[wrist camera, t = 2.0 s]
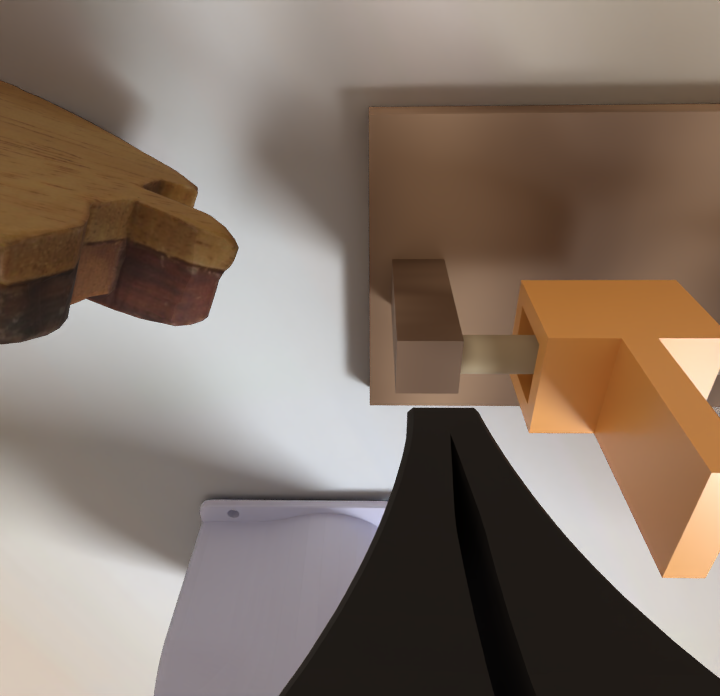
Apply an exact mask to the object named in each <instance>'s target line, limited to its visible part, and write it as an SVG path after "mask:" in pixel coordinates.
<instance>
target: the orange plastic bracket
mask: <svg viewBox="0 0 720 696" xmlns="http://www.w3.org/2000/svg"><path fill="white" fill-rule="evenodd" d="M512 335H535V336H536V338H537V341H538V343H539V349H538V354H537V359H536V364H535V369H534V374H510V377H511V380H512V383H513V386H514V389H515V392H516V395H517V398H518V401H519V404H520V407H521V410H522V413H523V416H524V419H525V422H526V425H527V428H528V431H529V433H594V434H595V436H596V438H597V441H598V443H599V445H600V447H601V449H602V451H603V453H604V455H605V457H606V460H607V462H608V464H609V466H610V468H611V470H612V472H613V474H614V477H615V479H616V481H617V483H618V485H619V487H620V489H621V491H622V493H623V496H624V498H625V500H626V502H627V504H628V506H629V508H630V510H631V513H632V515H633V517H634V519H635V521H636V523H637V525H638V527H639V529H640V532H641V534H642V536H643V538H644V540H645V542H646V544H647V546H648V549H649V551H650V553H651V555H652V557H653V559H654V561H655V563H656V565H657V568H658V570H659V572H660V574H661V576H662V578H706V576H707V574H708V572H709V570H710V568H711V567H712V565H713V563H714V561H715V559H716V557H717V556H718V554H719V552H720V418H719V416H718V415H717V414H716V412H715V411H714V410H713V409H712V407H711V406H710V405H709V403H708V402H707V401H706V400H707V398H708V396H709V393H710V391H711V388H712V386H713V384H714V381H715V379H716V377H717V374H718V372H719V369H720V325H719V324H718V323H717V322H716V321H715V320H714V319H713V318H712V317H711V316H710V315H709V313H708V312H707V311H706V310H705V309H704V308H703V307H702V306H701V305H700V304H699V303H698V302H697V301H696V300H695V299H694V298H693V297H692V296H691V295H690V294H689V293H688V292H687V291H686V290H685V289H684V288H683V287H682V286H681V285H680V284H679V283H678V281H677V280H521V284H520V291H519V297H518V303H517V309H516V315H515V321H514V328H513V334H512Z"/></svg>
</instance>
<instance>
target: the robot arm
mask: <svg viewBox="0 0 720 696" xmlns="http://www.w3.org/2000/svg"><path fill="white" fill-rule="evenodd" d="M235 510H236V511H235ZM200 516H201V520H202V523H201V527H200V530H199V533H198V536H197V539H196V543H195V546H194V549H193V552H192V555H191V559H190V562H189V565H188V568H187V571H186V575H185V578H184V581H183V584H182V587H181V591H180V594H179V597H178V600H177V603H176V607H175V610H174V613H173V616H172V619H171V623H170V626H169V629H168V632H167V635H166V639H165V642H164V646H163V649H162V653H161V658H160V662H159V666H158V672H157V678H156V684H155V690H154V696H720V678H719V677H717V676H716V675H715V674H713V673H712V672H711V671H710V670H708V669H707V668H706V667H704V666H703V665H702V664H701V663H700V662H698V661H697V660H696V659H695V658H693V657H692V656H691V655H690V654H689V653H687V652H686V651H685V650H684V649H682V648H681V647H680V646H679V645H678V644H676V643H675V642H674V641H673V640H672V639H671V638H669V637H668V636H667V635H666V634H665V633H664V632H663V631H662V630H661V629H659V628H658V627H657V626H656V625H655V624H654V623H653V622H652V621H651V620H649V619H648V618H647V617H646V616H645V615H644V614H643V613H642V612H641V611H639V610H638V609H637V608H636V607H635V606H634V605H633V604H632V603H631V602H630V601H628V600H627V599H626V598H625V597H624V596H623V595H622V594H621V593H620V592H619V591H618V590H617V589H616V588H615V587H614V586H613V585H612V584H611V583H610V582H609V581H608V580H607V579H606V578H605V577H604V576H603V575H602V574H601V573H600V572H599V571H598V570H597V569H596V568H595V567H594V566H593V565H592V564H591V563H590V562H589V561H588V560H587V559H586V558H585V556H584V555H583V554H582V553H581V552H580V551H579V550H578V549H577V548H576V547H575V546H574V545H573V543H572V542H571V541H570V540H569V539H568V538H567V537H566V535H565V534H564V533H563V532H562V531H561V530H560V528H559V527H558V526H557V525H556V524H555V522H554V521H553V520H552V519H551V518H550V516H549V515H548V514H547V513H546V511H545V510H544V509H543V508H542V507H541V505H540V504H539V503H538V501H537V500H536V499H535V497H534V496H533V495H532V494H531V492H530V491H529V489H528V488H527V487H526V485H525V484H524V483H523V481H522V480H521V478H520V477H519V476H518V474H517V473H516V471H515V470H514V469H513V467H512V466H511V464H510V463H509V461H508V460H507V458H506V457H505V455H504V454H503V452H502V451H501V449H500V448H499V446H498V445H497V443H496V442H495V440H494V438H493V437H492V435H491V433H490V432H489V430H488V428H487V427H486V425H485V423H484V421H483V420H482V418H481V416H480V414H479V412H477V411H476V410H475V409H474V408H412V409H411V410H410V411H408V412H407V434H406V442H405V447H404V452H403V456H402V460H401V463H400V467H399V470H398V474H397V477H396V480H395V484H394V487H393V490H392V493H391V495H390V498H389V500H388V501H329V500H206V501H204V502H203V503H202V504H201V507H200Z"/></svg>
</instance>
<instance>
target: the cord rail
mask: <svg viewBox="0 0 720 696" xmlns="http://www.w3.org/2000/svg"><path fill="white" fill-rule="evenodd" d="M521 280H677V281H678V283H679V284H680V285H681V286H682V287H683V288H684V289H685V290H686V291H687V292H688V293H689V294H690V295H691V296H692V297H693V298H694V299H695V300H696V301H697V302H698V303H699V304H700V305H701V306H702V307H703V308H704V309H705V310H706V311H707V312H708V313H709V315H710V316H711V317H712V318H713V319H714V320H715V321H716V322H717V323H718V324H719V325H720V104H631V105H524V106H418V107H369V303H370V405H447V406H520V404H519V401H518V398H517V395H516V392H515V389H514V386H513V383H512V380H511V377H510V374H534V369H535V364H536V359H537V354H538V349H539V343H538V341H537V338H536V336H535V335H512V334H513V328H514V321H515V315H516V309H517V303H518V297H519V291H520V284H521ZM706 401H707V402H708V403H709V405H710V406H711V407H720V369H719V372H718V374H717V377H716V379H715V381H714V384H713V386H712V388H711V391H710V393H709V396H708V398H707V400H706Z"/></svg>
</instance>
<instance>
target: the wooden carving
mask: <svg viewBox="0 0 720 696" xmlns="http://www.w3.org/2000/svg"><path fill="white" fill-rule="evenodd" d="M197 194H198V188H197V186H195V185H194V184H193V183H191V182H190V181H189V180H188V179H186V178H185V177H184V176H182V175H181V174H180V173H178V172H177V171H175V170H174V169H172V168H171V167H169V166H167V165H165V164H163V163H162V162H160V161H158V160H156V159H154V158H153V157H151V156H149V155H147V154H145V153H144V152H142V151H140V150H139V149H137V148H135V147H134V146H132V145H130V144H129V143H127V142H125V141H124V140H122V139H120V138H118V137H116V136H115V135H113V134H111V133H109V132H107V131H105V130H104V129H102V128H100V127H98V126H96V125H95V124H93V123H91V122H89V121H87V120H85V119H83V118H81V117H79V116H77V115H75V114H73V113H71V112H69V111H67V110H65V109H63V108H61V107H59V106H57V105H55V104H52V103H50V102H48V101H46V100H44V99H42V98H40V97H38V96H35V95H32V94H30V93H27V92H25V91H23V90H21V89H20V88H18V87H16V86H14V85H11V84H8V83H6V82H3V81H0V344H9V343H19V342H24V341H27V340H31V339H34V338H38V337H42V336H46V335H48V334H50V333H51V332H53V331H55V330H57V329H59V328H60V327H61V326H62V324H63V323H64V322H65V321H66V319H67V318H68V313H69V308H70V305H71V304H74V303H76V302H79V301H81V300H84V299H88V300H91V301H93V302H96V303H98V304H101V305H103V306H106V307H108V308H111V309H113V310H116V311H120V312H123V313H126V314H129V315H132V316H134V317H137V318H141V319H145V320H149V321H154V322H160V323H164V324H168V325H173V326H182V325H191V324H194V323H197V322H200V321H203V320H204V319H205V318H207V317H208V315H209V312H210V308H211V305H212V302H213V299H214V296H215V293H216V289H217V285H218V282H219V279H220V278H221V276H222V274H223V273H224V271H225V270H227V269H228V268H229V267H230V266H231V265H232V263H233V261H234V259H235V257H236V254H237V251H238V248H239V247H238V245H237V243H236V241H235V239H234V238H233V236H232V235H231V234H230V233H229V231H228V230H227V229H226V227H225V226H223V225H222V224H221V223H219V222H218V221H217V220H215V219H214V218H213V217H212V216H210V215H208V214H206V213H204V212H202V211H199V210H197V209H194V208H193V207H194V203H195V200H196V197H197Z"/></svg>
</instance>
